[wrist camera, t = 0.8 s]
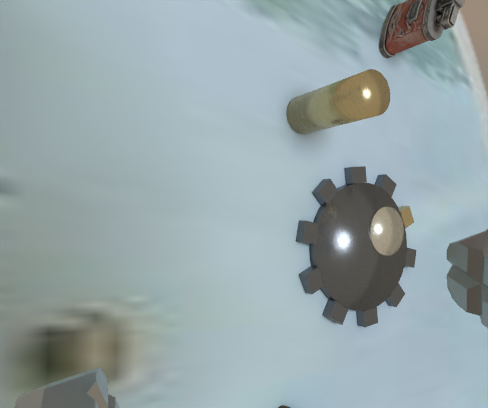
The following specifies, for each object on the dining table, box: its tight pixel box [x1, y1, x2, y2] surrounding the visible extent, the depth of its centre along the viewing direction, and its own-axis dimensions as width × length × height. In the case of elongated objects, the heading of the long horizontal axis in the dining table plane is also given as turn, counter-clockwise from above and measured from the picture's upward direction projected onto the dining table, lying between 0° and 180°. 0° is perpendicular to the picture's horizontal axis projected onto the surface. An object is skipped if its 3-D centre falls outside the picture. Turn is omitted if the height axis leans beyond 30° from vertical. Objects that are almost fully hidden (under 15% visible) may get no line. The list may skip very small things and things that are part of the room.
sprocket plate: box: [296, 167, 416, 327], centre depth 54 cm, size 20×20×1 cm
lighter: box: [379, 0, 464, 58], centre depth 54 cm, size 8×3×10 cm, turn 157°
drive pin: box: [287, 69, 390, 134], centre depth 45 cm, size 4×4×11 cm
